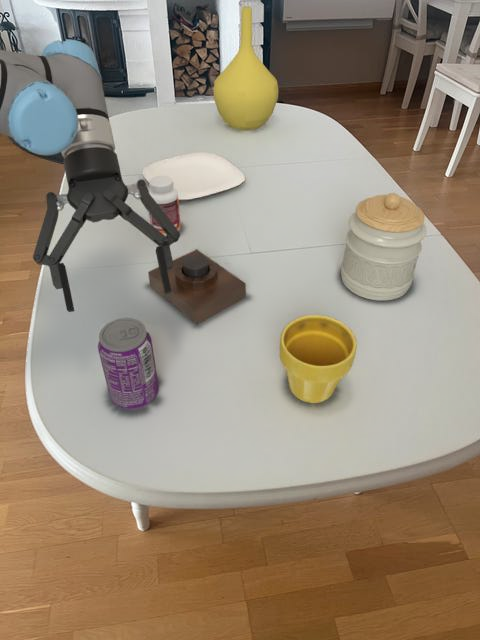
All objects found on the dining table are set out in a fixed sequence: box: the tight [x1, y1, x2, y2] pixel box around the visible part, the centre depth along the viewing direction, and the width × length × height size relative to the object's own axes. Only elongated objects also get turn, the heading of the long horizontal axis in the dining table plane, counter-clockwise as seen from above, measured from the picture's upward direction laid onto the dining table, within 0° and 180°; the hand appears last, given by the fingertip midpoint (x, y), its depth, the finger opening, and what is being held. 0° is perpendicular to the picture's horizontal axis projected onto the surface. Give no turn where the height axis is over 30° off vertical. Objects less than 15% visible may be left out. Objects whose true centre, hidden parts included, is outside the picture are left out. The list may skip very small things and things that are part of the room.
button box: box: [147, 249, 247, 325], centre depth 92 cm, size 14×11×5 cm
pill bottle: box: [148, 176, 182, 236], centre depth 106 cm, size 6×6×11 cm
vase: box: [212, 6, 279, 131], centre depth 143 cm, size 18×18×30 cm
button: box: [182, 255, 208, 278], centre depth 90 cm, size 4×4×2 cm
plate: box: [142, 151, 246, 201], centre depth 126 cm, size 22×22×2 cm
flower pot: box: [279, 314, 358, 404], centre depth 74 cm, size 10×10×10 cm
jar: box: [340, 192, 427, 301], centre depth 91 cm, size 13×13×18 cm
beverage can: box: [97, 317, 160, 410], centre depth 72 cm, size 7×7×12 cm
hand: (120, 301), depth 73 cm, fingers open, 13 cm apart
